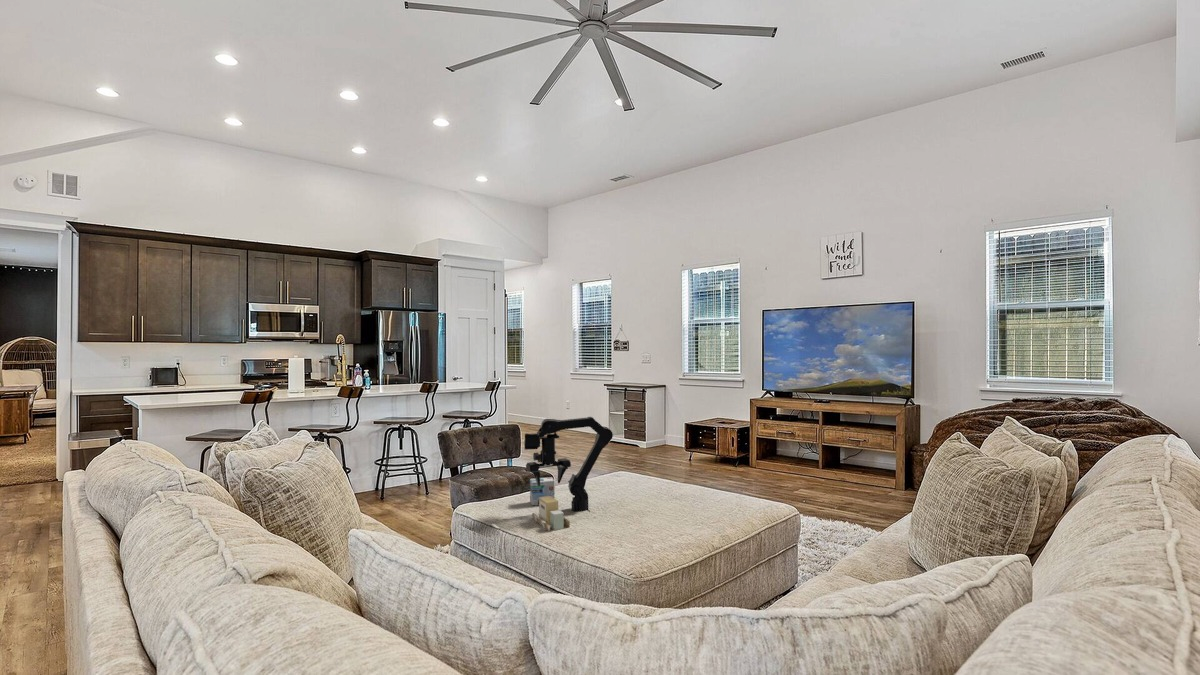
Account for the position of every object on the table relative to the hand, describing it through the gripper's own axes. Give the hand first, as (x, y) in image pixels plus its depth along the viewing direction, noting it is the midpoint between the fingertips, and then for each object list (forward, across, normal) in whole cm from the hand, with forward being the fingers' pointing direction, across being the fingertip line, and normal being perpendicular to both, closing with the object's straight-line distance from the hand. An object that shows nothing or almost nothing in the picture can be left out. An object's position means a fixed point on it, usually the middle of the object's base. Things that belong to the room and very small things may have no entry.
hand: (548, 484), depth 256 cm
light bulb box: (+13, -3, -16) cm, 21 cm away
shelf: (+12, +5, +14) cm, 19 cm away
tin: (+12, +5, +21) cm, 24 cm away
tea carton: (+12, +5, +12) cm, 17 cm away
